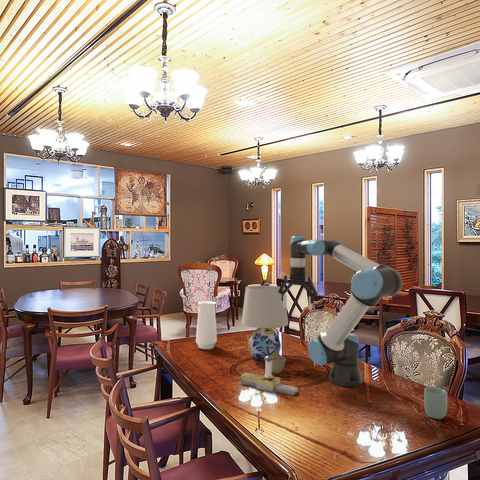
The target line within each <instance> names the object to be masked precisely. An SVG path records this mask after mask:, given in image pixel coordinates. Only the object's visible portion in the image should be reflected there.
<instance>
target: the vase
mask: <svg viewBox="0 0 480 480" xmlns="http://www.w3.org/2000/svg"><path fill="white" fill-rule="evenodd" d="M197 304H198V311H197V312H198V313H197V322H196V323H197V324H196V336H195V343H196V344H197V347H198V349H201V350H212V349H214V348H215V344H217V340H218V337H217V335H218V334H217V318H216V316H217V315H216V304H217V302H216V301H206V300H205V301H198V302H197Z"/></svg>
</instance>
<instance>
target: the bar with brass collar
mask: <svg viewBox="0 0 480 480" xmlns="http://www.w3.org/2000/svg"><path fill="white" fill-rule="evenodd" d="M240 384H241V385H245V386H247V387H248V386H249V387H253V388H256V390H260V391H264V392H269V393H275V392H277V393H281V394H286V395H290V396H295V395H296V394H297V393H298V387H297V386H293V385H287V384H285V383H284V384H282V383H281V377H276V376H273V375H272V381H267V380H265V374H264V375H259V374H256V373H255V374H254V373H249V372H244V373H243V374H241V375H240Z"/></svg>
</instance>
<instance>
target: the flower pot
mask: <svg viewBox="0 0 480 480" xmlns="http://www.w3.org/2000/svg"><path fill="white" fill-rule="evenodd" d="M286 361H287V359H286V357H284V356H282V355H277V356H276V355H273V360H272V374H275V375H276V374H280V373H282V371H283V369H284V368H285V365H286Z"/></svg>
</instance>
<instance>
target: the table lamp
mask: <svg viewBox="0 0 480 480" xmlns="http://www.w3.org/2000/svg"><path fill="white" fill-rule="evenodd" d="M280 287H281V286H277V285H249V286H245V291H244V292H245V293H244V298H243V299H244V301H243V307H242V309H243V310H242V315H241V316H242V317H241V324H242V325H243V326H246V327H250V328H256V329H255V330H254V331H253V332H252V334H251V335H250V337H249V339H248V343H247V349H248V351H249V353H250V355H251V357H252V358H254V359H256V360H260V361H261V360H262V361H265V359H264V356H267V355H270V356H273V355H276V356H279V353H280V352H281V349H282V348H281V346H282V345H281V340H280V337H279V335H278V334H277V332H276V331H275V330H274V329H278V328H285V327H287V326H288V325H289V319H288V310H287V309H288V307H287V306H286V307H285V308H283V301H282V295H281V294H280V293H278V291H279V289H280ZM285 288H286V287H284V289H285ZM284 289H283V290H284Z"/></svg>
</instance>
